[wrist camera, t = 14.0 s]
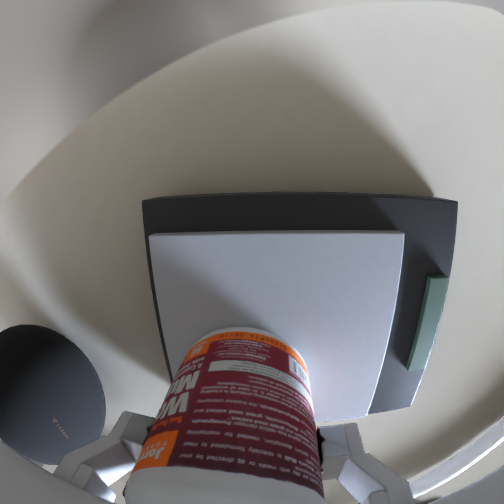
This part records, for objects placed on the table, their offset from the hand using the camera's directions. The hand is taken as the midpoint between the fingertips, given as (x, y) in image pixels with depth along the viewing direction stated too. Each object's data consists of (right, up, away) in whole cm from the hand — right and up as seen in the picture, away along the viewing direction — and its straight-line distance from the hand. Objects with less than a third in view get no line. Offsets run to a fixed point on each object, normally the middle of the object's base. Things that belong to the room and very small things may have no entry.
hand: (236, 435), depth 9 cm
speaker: (-13, -1, +8) cm, 16 cm away
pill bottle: (0, +1, +4) cm, 4 cm away
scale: (+3, +4, +6) cm, 8 cm away
